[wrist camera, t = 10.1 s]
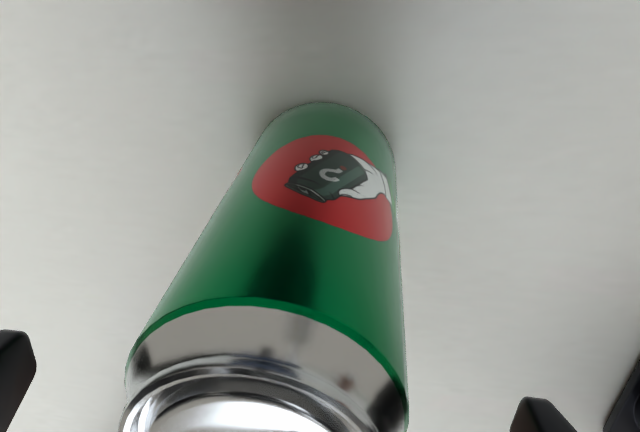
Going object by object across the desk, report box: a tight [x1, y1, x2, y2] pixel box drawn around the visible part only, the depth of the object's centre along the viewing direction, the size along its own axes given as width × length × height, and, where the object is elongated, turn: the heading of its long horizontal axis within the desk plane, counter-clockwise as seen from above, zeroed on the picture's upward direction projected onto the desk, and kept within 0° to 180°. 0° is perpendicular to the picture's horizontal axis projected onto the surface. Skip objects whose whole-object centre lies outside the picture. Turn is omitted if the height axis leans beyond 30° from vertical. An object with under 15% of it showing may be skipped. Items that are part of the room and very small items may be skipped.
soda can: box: [119, 102, 409, 432], centre depth 13 cm, size 5×5×12 cm
